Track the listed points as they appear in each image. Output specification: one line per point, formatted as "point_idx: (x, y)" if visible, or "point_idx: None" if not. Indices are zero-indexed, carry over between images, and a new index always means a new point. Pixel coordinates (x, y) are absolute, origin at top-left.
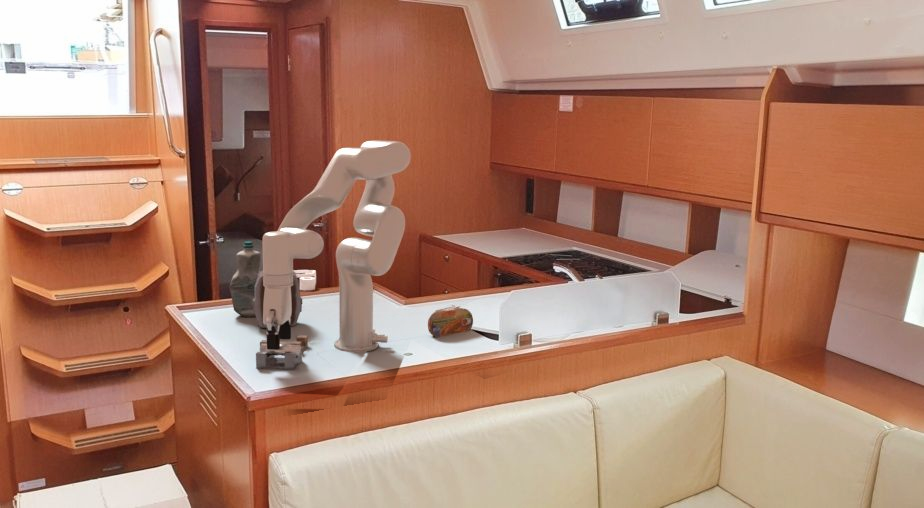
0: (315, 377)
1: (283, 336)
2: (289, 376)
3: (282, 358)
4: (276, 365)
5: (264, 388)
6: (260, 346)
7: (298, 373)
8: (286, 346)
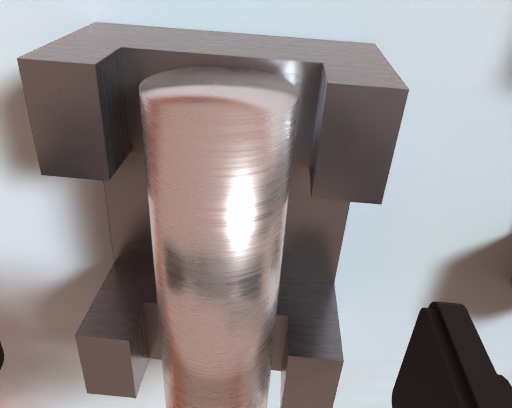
0: (38, 399)
1: (417, 373)
2: (2, 292)
3: (324, 214)
4: (129, 204)
5: None
6: (151, 101)
7: (74, 327)
8: (176, 375)
